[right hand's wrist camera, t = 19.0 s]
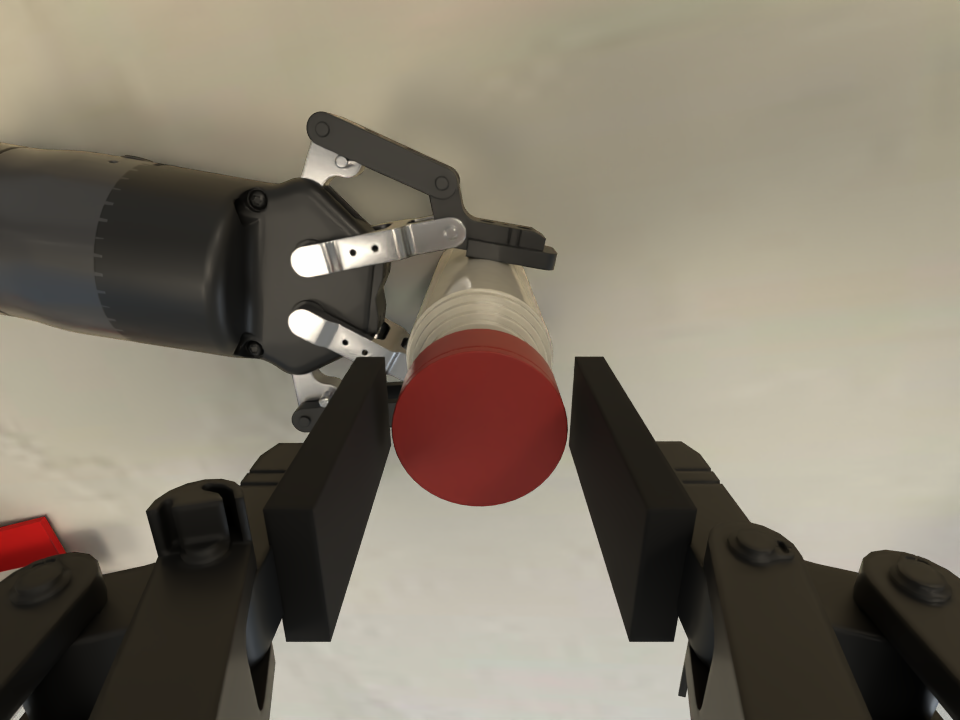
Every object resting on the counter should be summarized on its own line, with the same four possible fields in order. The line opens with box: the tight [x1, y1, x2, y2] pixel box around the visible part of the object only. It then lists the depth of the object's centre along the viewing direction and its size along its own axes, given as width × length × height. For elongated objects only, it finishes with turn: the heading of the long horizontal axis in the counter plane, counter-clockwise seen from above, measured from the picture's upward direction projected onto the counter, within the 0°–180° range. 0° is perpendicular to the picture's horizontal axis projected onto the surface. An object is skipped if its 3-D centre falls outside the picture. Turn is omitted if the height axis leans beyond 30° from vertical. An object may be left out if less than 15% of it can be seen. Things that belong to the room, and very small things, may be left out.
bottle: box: [406, 248, 553, 371], centre depth 21 cm, size 5×5×17 cm
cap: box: [392, 329, 568, 506], centre depth 14 cm, size 4×4×2 cm
